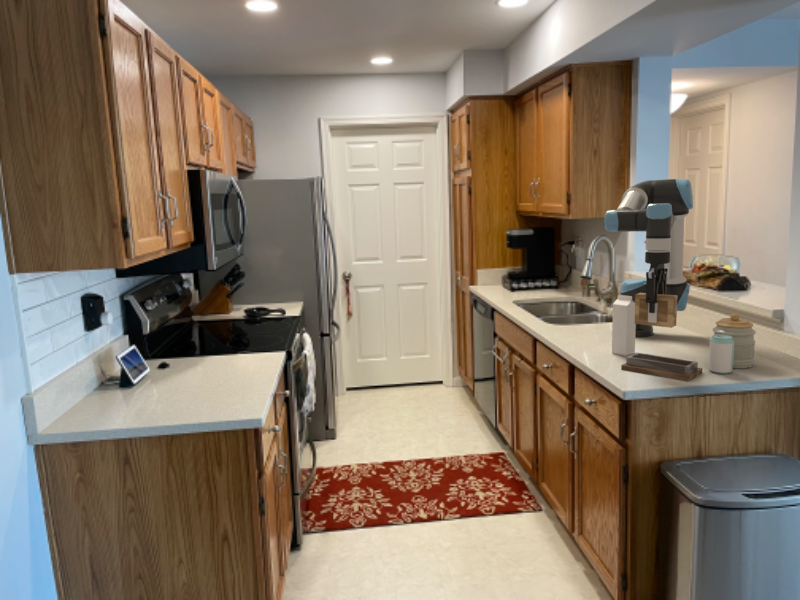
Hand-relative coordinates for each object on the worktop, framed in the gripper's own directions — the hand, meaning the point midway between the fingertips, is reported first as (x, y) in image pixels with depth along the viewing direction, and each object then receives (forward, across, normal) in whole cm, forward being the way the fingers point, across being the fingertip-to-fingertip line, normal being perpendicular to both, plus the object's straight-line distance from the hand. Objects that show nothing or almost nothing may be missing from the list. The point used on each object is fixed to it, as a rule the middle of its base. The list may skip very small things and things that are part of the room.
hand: (655, 320), depth 197 cm
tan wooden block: (+1, 0, 0) cm, 1 cm away
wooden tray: (+17, 0, +2) cm, 17 cm away
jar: (+17, -22, +18) cm, 34 cm away
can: (+17, -10, +18) cm, 27 cm away
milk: (+17, -16, -17) cm, 29 cm away
